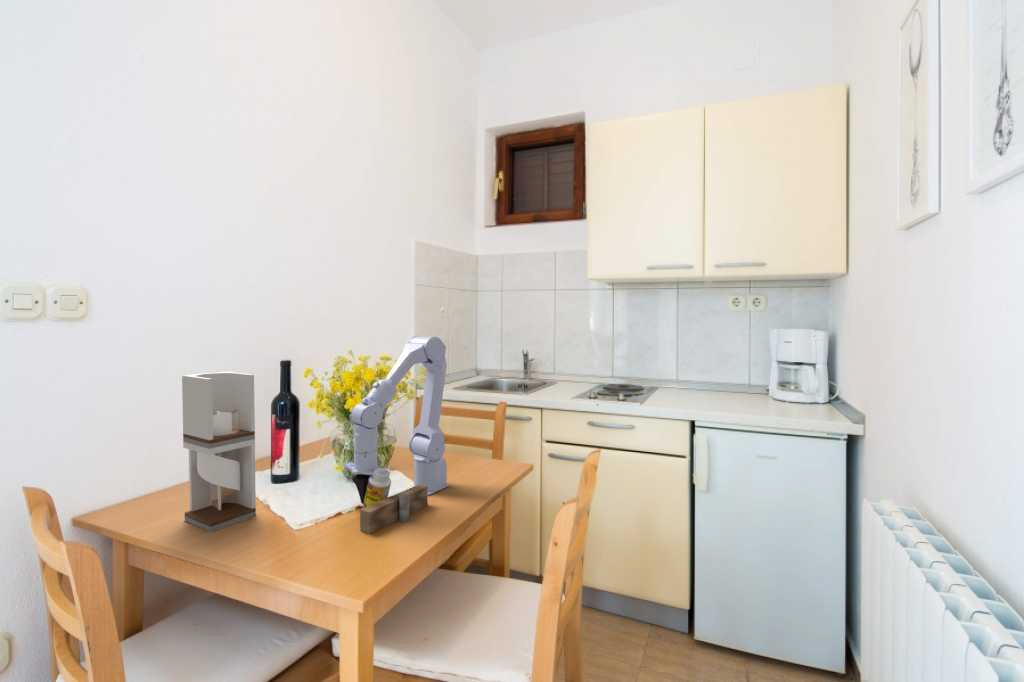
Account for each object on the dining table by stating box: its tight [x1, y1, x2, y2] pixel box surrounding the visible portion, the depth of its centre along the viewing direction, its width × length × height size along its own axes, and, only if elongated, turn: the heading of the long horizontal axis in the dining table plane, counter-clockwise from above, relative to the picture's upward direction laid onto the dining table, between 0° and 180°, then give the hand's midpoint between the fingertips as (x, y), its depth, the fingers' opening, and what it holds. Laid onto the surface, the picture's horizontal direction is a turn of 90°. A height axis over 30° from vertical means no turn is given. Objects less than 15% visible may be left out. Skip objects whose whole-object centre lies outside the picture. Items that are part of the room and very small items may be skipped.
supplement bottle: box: [362, 467, 392, 508], centre depth 121 cm, size 6×6×10 cm
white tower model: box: [181, 371, 257, 533], centre depth 115 cm, size 11×11×35 cm
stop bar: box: [359, 484, 429, 535], centre depth 117 cm, size 20×5×6 cm, turn 149°
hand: (365, 502), depth 123 cm, fingers closed, pressing on supplement bottle
